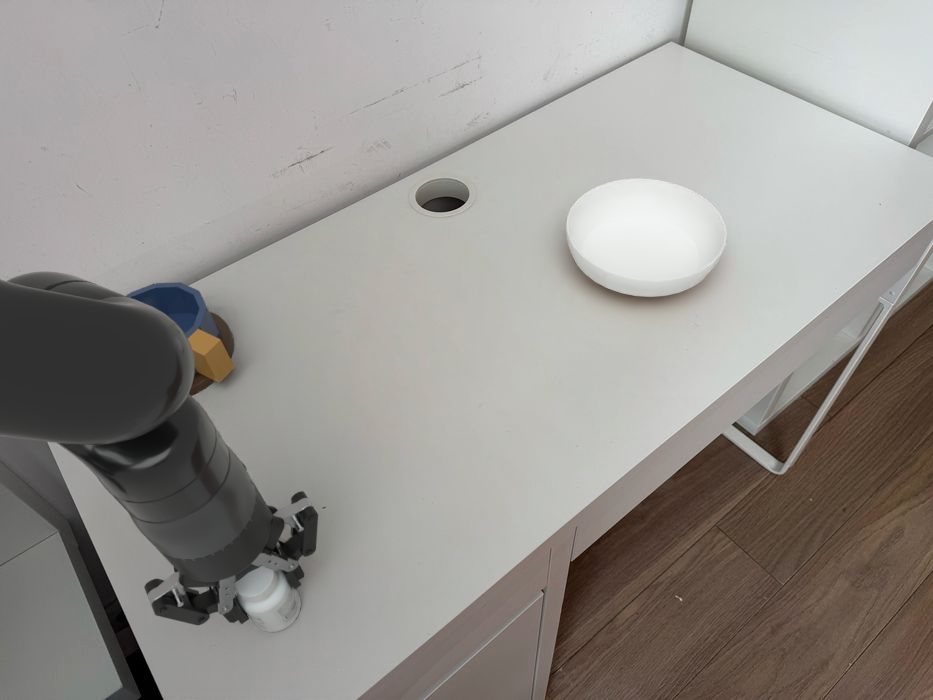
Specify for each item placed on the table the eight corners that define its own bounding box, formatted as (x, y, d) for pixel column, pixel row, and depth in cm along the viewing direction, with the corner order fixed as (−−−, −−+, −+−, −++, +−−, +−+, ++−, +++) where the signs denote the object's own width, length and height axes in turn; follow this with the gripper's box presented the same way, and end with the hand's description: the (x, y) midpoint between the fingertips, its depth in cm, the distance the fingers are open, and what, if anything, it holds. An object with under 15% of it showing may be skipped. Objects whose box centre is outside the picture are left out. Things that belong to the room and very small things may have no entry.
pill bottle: (297, 578, 65) (275, 543, 59) (305, 623, 62) (283, 591, 56) (250, 594, 64) (223, 560, 58) (256, 640, 61) (229, 610, 55)
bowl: (740, 247, 90) (752, 209, 86) (675, 341, 81) (685, 305, 76) (608, 197, 98) (612, 161, 94) (535, 277, 89) (536, 241, 84)
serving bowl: (100, 364, 81) (78, 334, 77) (172, 301, 87) (155, 270, 83) (192, 414, 76) (173, 384, 72) (261, 343, 82) (248, 312, 78)
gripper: (113, 611, 43) (207, 684, 56) (316, 488, 48) (359, 582, 61) (81, 522, 47) (176, 609, 60) (271, 417, 52) (320, 519, 65)
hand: (268, 595), depth 60 cm, fingers closed on pill bottle, 4 cm apart
